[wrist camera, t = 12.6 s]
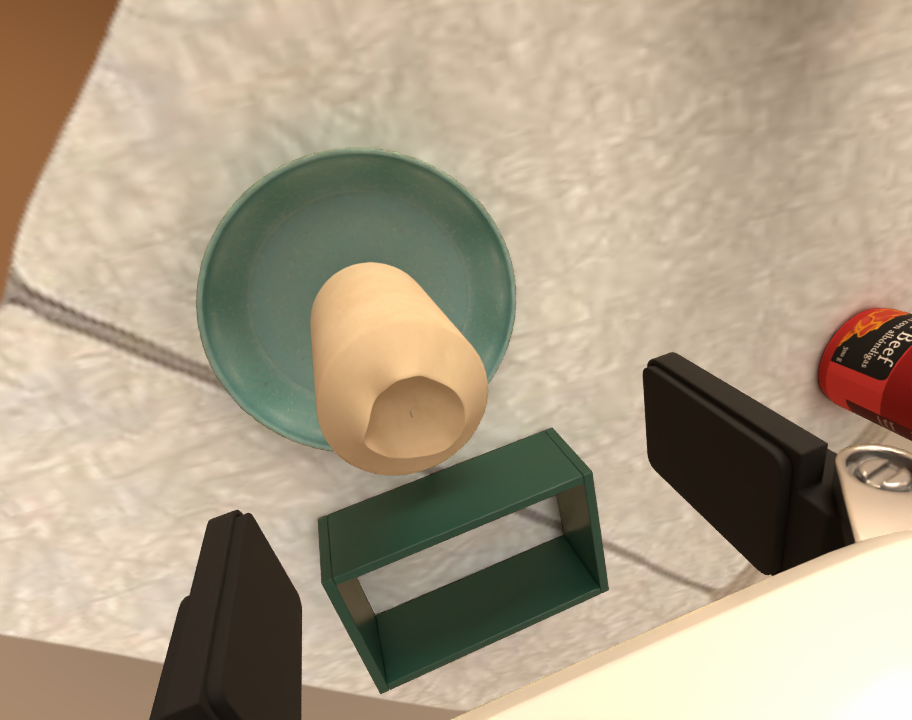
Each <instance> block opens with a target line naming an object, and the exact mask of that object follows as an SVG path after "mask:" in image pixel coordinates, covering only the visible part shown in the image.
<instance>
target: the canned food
mask: <svg viewBox="0 0 912 720" xmlns="http://www.w3.org/2000/svg"><path fill="white" fill-rule="evenodd" d="M819 384H820V388H821V390H822V391H823V393H824V394H825V395H826V396H827V397H828V398H829V399H830V400H832V401H833V402H834V403H835V404H837V405H839V406H841V407H843V408H845V409H847V410H849V411H851V412H853V413H855V414H857V415H859V416H862V417H864V418H866V419H868V420H870V421H872V422H874V423H876V424H878V425H880V426H882V427H884V428H886V429H888V430H890V431H892V432H894V433H896V434H899V435H900V436H903V437H905V438H907V439H909V440H911V441H912V314H910V313H906V312H902V311H899V310H895V309H880V308H876V309H869V310H866V311H863V312H861V313H859V314H857V315H856V316H854V317H852V318H851V319H850V320H848V321H847V322H846V323H845V324H844V325H843V326H842V327H841V328H840V329H839V330H838V331H837V332H836V333H835V335H834V336H833V337H832V339H831V340H830V342H829V344H828V345H827V347H826V349H825V351H824V353H823V356H822V359H821V362H820V366H819Z"/></svg>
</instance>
